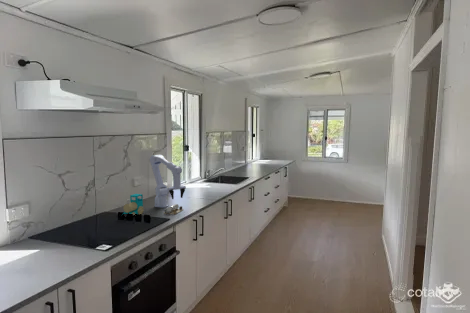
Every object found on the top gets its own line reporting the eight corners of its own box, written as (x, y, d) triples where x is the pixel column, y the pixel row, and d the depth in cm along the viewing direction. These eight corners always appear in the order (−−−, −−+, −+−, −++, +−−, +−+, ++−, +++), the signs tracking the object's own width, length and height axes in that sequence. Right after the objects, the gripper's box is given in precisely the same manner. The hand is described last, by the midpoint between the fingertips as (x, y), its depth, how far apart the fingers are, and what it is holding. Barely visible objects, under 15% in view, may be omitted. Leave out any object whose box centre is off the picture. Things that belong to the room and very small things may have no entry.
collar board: (163, 213, 237) (163, 208, 237) (172, 208, 251) (172, 204, 250) (175, 214, 235) (175, 209, 234) (183, 209, 248) (183, 205, 248)
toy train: (120, 218, 226) (119, 198, 224) (135, 212, 241) (135, 193, 240) (129, 219, 223) (128, 198, 222) (143, 213, 238) (143, 194, 237)
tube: (167, 214, 236) (171, 211, 234) (164, 209, 236) (168, 207, 235) (175, 209, 249) (179, 207, 248) (173, 205, 249) (177, 203, 248)
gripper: (170, 183, 239) (170, 200, 241) (187, 181, 247) (187, 198, 248) (166, 181, 245) (167, 198, 246) (183, 180, 253) (183, 196, 254)
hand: (177, 198), depth 248 cm, fingers open, 7 cm apart
